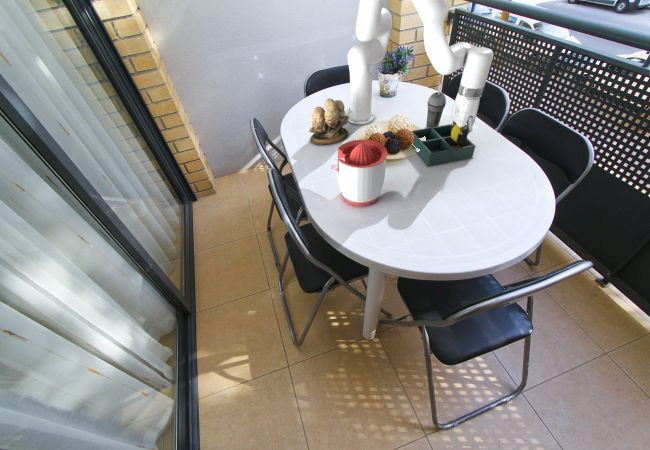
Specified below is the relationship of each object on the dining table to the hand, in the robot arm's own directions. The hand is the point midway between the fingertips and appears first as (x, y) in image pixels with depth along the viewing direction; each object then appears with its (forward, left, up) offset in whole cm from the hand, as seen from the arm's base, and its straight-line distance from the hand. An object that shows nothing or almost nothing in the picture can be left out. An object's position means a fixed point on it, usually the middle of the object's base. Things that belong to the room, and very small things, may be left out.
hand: (457, 138), depth 117 cm
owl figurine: (-47, +20, -7) cm, 51 cm away
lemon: (0, 0, -2) cm, 2 cm away
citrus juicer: (-40, -21, -7) cm, 45 cm away
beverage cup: (-3, +20, -7) cm, 22 cm away
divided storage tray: (-5, +3, -6) cm, 9 cm away
